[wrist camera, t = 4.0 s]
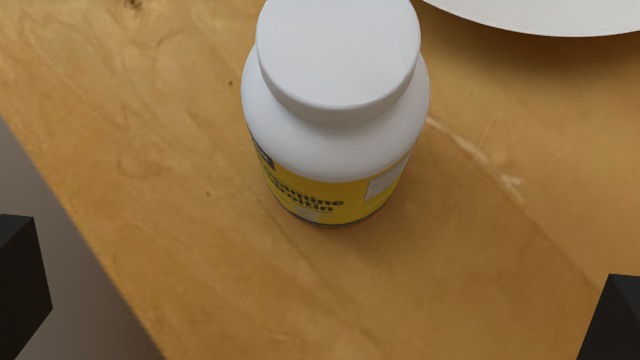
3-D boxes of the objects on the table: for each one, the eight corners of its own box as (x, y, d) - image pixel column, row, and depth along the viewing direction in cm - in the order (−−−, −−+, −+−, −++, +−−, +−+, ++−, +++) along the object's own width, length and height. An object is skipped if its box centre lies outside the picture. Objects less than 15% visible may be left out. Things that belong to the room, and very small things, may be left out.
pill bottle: (243, 137, 27) (184, -12, 16) (360, 82, 28) (382, -96, 17) (302, 255, 25) (282, 181, 14) (425, 193, 26) (497, 76, 15)
